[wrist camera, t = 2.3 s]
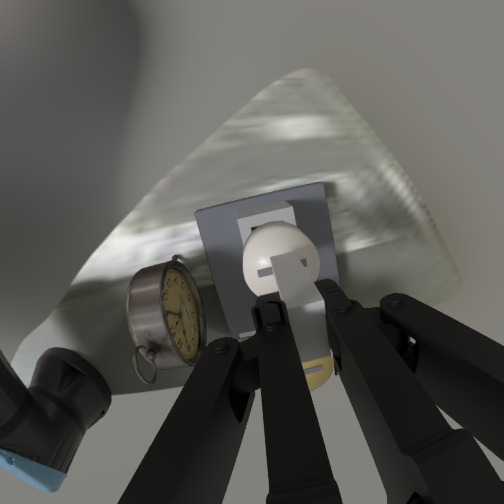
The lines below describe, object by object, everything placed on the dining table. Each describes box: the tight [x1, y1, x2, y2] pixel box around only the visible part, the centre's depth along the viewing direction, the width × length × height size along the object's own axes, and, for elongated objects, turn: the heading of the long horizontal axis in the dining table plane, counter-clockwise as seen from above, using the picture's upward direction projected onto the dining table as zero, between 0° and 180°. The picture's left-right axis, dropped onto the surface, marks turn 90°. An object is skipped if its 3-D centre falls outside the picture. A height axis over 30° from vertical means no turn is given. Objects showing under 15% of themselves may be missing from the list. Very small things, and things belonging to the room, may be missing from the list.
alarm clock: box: [126, 255, 207, 385], centre depth 26 cm, size 11×5×16 cm, turn 14°
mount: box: [194, 182, 340, 339], centre depth 30 cm, size 14×16×7 cm
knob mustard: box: [302, 356, 333, 391], centre depth 24 cm, size 5×5×8 cm
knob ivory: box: [243, 221, 320, 296], centre depth 22 cm, size 5×5×8 cm
